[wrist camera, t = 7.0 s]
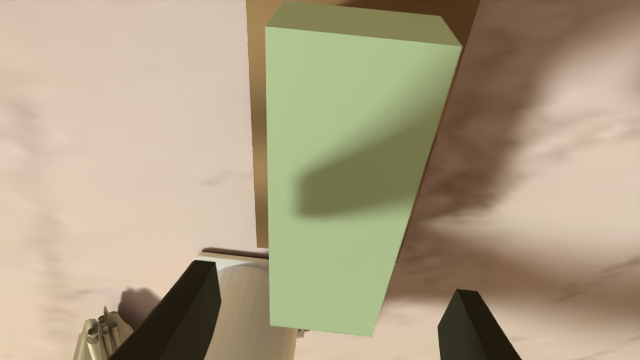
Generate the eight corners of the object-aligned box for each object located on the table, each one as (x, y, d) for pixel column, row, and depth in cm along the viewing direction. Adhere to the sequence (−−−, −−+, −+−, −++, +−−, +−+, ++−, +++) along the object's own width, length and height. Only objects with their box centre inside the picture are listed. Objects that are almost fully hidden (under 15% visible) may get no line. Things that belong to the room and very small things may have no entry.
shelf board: (370, 285, 20) (371, 337, 18) (280, 275, 20) (269, 325, 18) (440, 16, 12) (462, 46, 9) (283, 0, 12) (265, 26, 9)
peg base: (395, 251, 24) (401, 303, 21) (260, 236, 24) (245, 286, 21) (487, -52, 14) (526, -37, 11) (249, -76, 14) (217, -68, 11)
